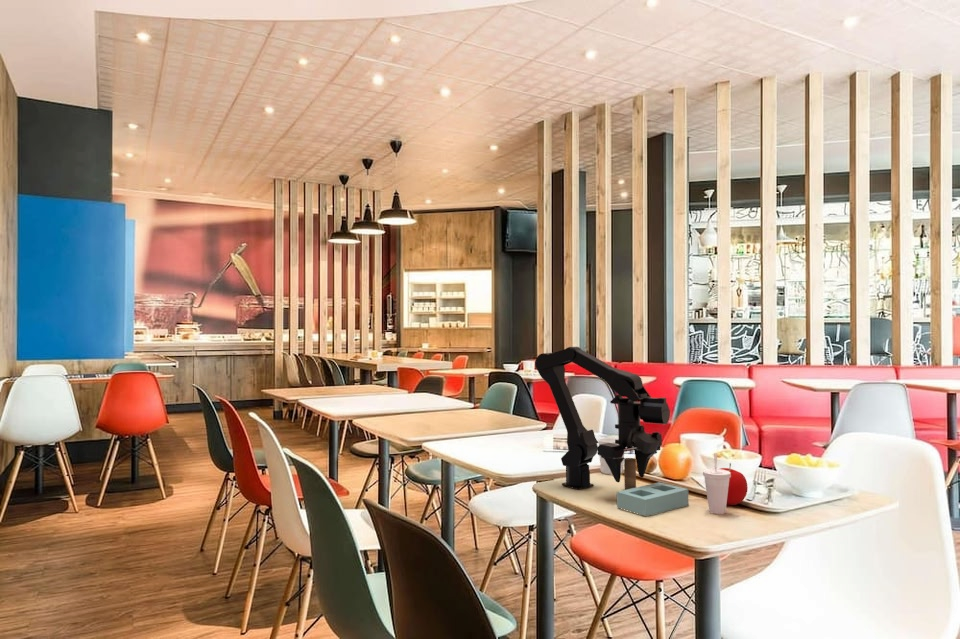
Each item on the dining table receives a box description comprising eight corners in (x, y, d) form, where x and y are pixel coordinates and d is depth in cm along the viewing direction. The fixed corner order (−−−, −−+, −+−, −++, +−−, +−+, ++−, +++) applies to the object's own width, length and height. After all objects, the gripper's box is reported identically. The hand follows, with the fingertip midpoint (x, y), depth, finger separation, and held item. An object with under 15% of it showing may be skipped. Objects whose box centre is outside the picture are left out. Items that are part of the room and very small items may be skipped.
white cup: (599, 474, 189) (598, 441, 189) (598, 469, 197) (598, 437, 197) (625, 475, 188) (625, 442, 188) (624, 469, 196) (623, 437, 196)
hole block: (617, 507, 155) (616, 491, 155) (659, 497, 164) (659, 482, 164) (645, 516, 147) (645, 499, 147) (688, 505, 156) (688, 489, 156)
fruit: (755, 507, 154) (754, 466, 154) (719, 508, 153) (718, 467, 153) (737, 497, 163) (736, 459, 163) (703, 498, 162) (702, 460, 162)
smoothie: (698, 512, 150) (697, 454, 151) (709, 506, 155) (708, 450, 155) (725, 517, 146) (724, 457, 146) (735, 511, 151) (734, 453, 151)
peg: (622, 494, 167) (621, 458, 167) (629, 492, 169) (629, 457, 169) (630, 496, 165) (630, 460, 165) (638, 494, 166) (638, 459, 166)
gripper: (628, 428, 155) (628, 491, 155) (676, 421, 166) (677, 480, 165) (595, 423, 164) (596, 482, 164) (643, 416, 175) (644, 472, 175)
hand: (629, 479), depth 167 cm, fingers open, 9 cm apart
